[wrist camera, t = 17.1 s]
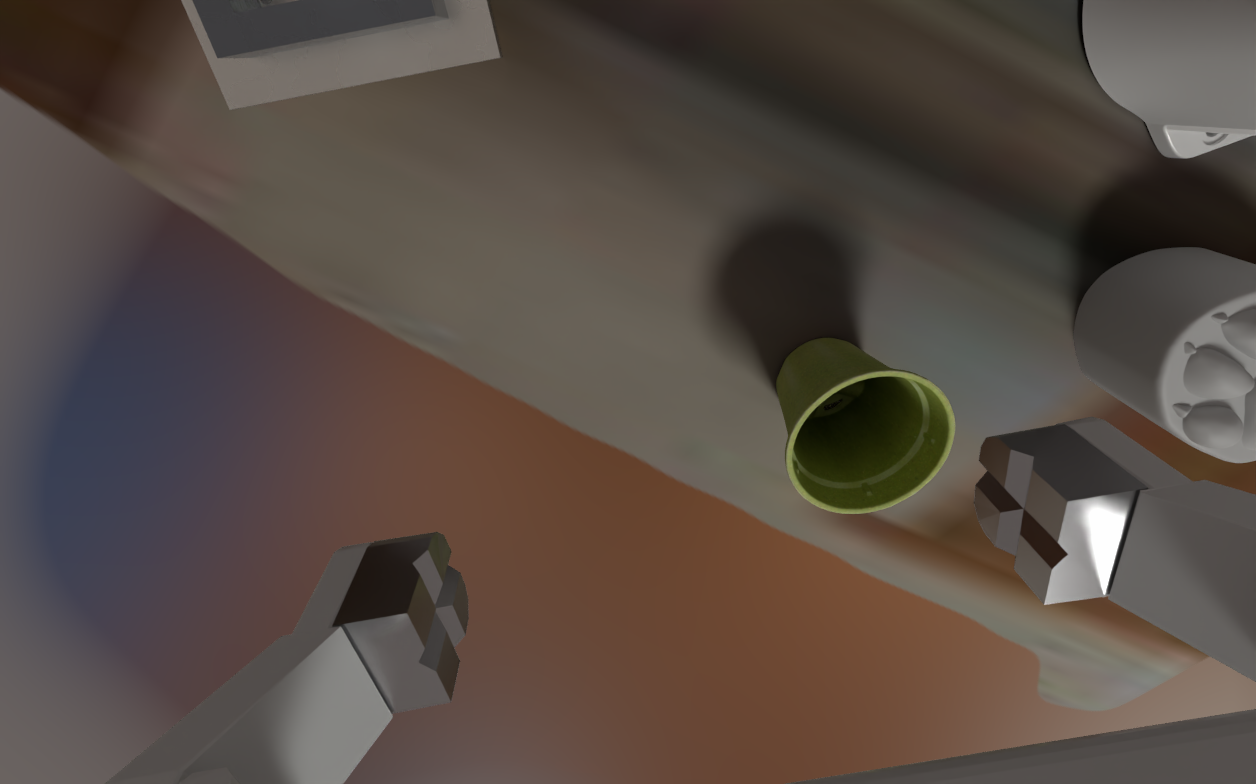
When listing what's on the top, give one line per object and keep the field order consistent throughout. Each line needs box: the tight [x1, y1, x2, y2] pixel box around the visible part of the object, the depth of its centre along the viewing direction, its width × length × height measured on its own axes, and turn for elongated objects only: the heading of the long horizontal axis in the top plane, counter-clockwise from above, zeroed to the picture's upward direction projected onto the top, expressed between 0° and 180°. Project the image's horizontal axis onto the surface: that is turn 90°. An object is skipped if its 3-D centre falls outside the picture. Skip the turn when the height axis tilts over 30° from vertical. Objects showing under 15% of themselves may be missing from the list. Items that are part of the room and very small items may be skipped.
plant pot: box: [776, 338, 955, 514], centre depth 38 cm, size 9×9×9 cm
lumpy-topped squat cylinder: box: [1073, 247, 1256, 463], centre depth 38 cm, size 10×13×9 cm
